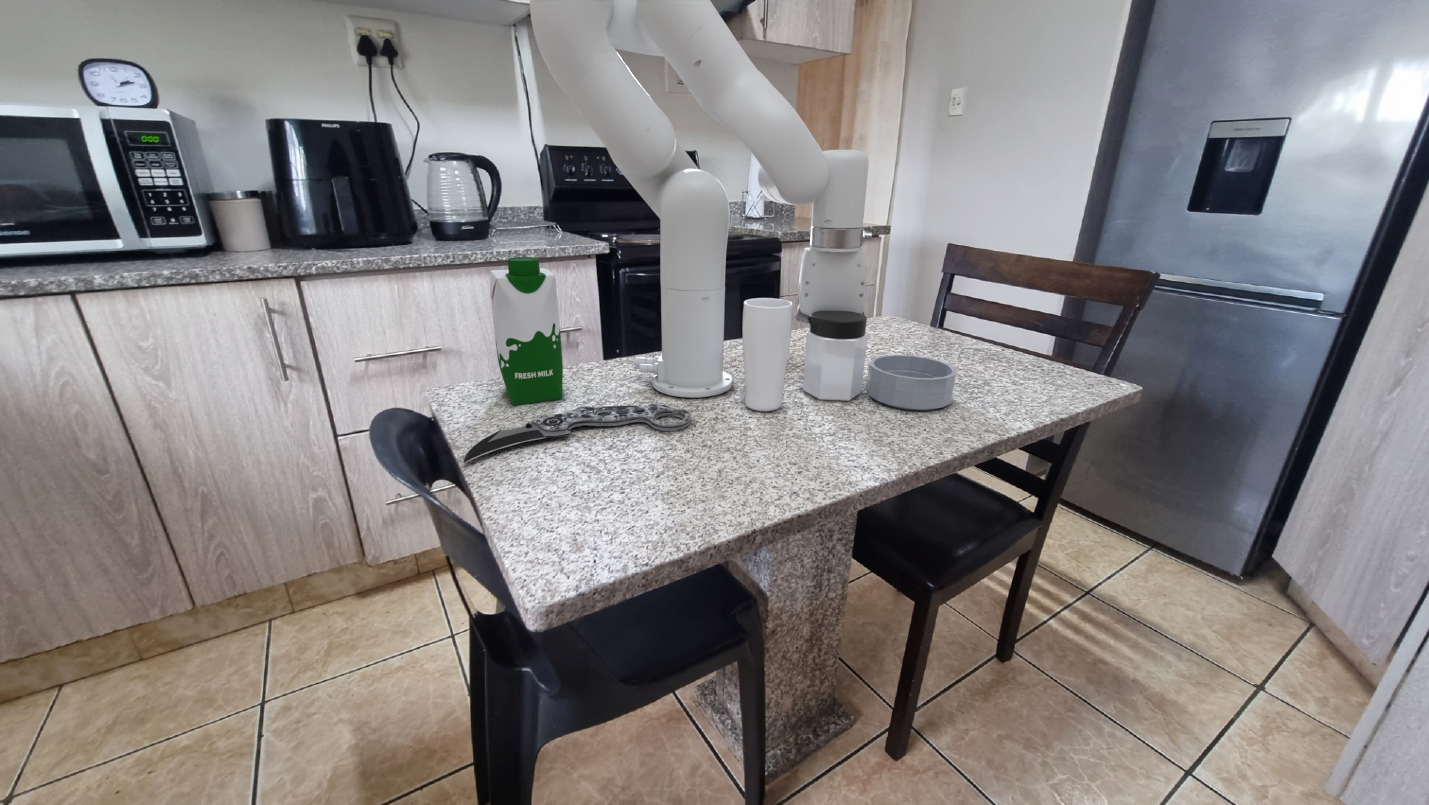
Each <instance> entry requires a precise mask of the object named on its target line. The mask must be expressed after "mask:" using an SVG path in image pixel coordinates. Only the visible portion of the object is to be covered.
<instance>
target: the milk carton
mask: <svg viewBox="0 0 1429 805" xmlns="http://www.w3.org/2000/svg"><path fill="white" fill-rule="evenodd" d="M489 296H490V301H491V313H492V321H493V329H494V339H495V347H496V355H497V362H498V366H499V370H500V373H501V376H502V379H503V383H504V386H505V390H506V392H507V395H508V397H509V399H510V402H511V404H512V406H519V405H527V404H528V405H529V404H534V403H542V402H550V401H556V400H557V401H559V400H563V384H564V383H563V382H564V380H563V378H564V374H563V373H564V365H563V364H564V363H563V362H564V361H563V350H562V336H561V335H562V334H561V324H560V322H561V321H560V311H559V301H558V300H559V299H558V290H557V279H556V275H555V274H554V273H552V271H550V270H549V269H547V268H545V267H542V268H541V267H540V259H539V258H538V257H534V256H533V257H531V256H519V257H518V256H517V257H510V258H507V269H494V270H493V269H492V270H490V282H489Z"/></svg>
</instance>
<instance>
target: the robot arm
mask: <svg viewBox="0 0 1429 805" xmlns="http://www.w3.org/2000/svg"><path fill="white" fill-rule="evenodd" d="M529 11H530V14H529V15H530V21H531V27H532V31H533V35H534V39H535V42H536V45H537V48H538V51H539V53H540V55H541V58H542V60H543V62H544V64H545V66H546V68H547V70H548V71H549V73H550V75H551V76H552V78H553V79H554V81H555V82H556V84H557V85H558V87H559V88H560V90H561V91H562V92H563V94H564V95H565V96H566V97H567V100H569V102H570V103H571V104H572V106H574V108H575V109H576V110H577V112H578V113H579V114H580V116H581V118H582V119H583V120H584V121H585V123H586V124H587V125H588V126H589V127H590V129H591V130H592V131H593V133H594V134H595V135H596V136H597V138H598V139H599V141H601V143H602V144H603V145H604V147H605V149H606V150H607V153H608V155H609V156H610V159H611V160H612V162H613V164H614V165H615V166H616V167H617V169H618V171H619V172H621V174H622V175H623V176H624V177H625V179H626V180H627V181H628V182H629V183H630V184H631V186H632V188H633V189H634V190H635V191H636V193H637V194H638V195H639V196H640V197H641V198H642V199H643V201H644V202H645V203H646V204H647V205H648V207H649V208H650V209H651V210H652V211H653V213H655V215H656V216H657V217H658V219H659V221H660V236H659V237H660V238H659V239H660V242H659V243H660V246H659V247H660V248H659V249H660V250H659V254H660V255H659V258H660V264H659V266H660V267H659V268H660V269H659V271H660V313H661V314H660V315H661V319H660V320H661V353H660V355H655V356H654V358H650V357H644V356H643V357H642V356H640V357H639V356H635V358H634V361H633V362H634V369H635V370H639V371H638V372H639V374H642V373H643V374H644V373H645V374H649V373H652V374H653V373H654V375H653V376H652V378H651V380H652V381H651V382H652V388H654V389H655V390H656V391H658V392H660V393H662V394H664V395H668V396H672V397H676V398H677V397H678V398H690V399H692V398H695V399H696V398H697V399H699V398H708V397H715V396H719V395H722V394H725V393H726V392H728V391H729V390H731V389H732V387H733V377H732V376H731V375H730V374H729V373H728V372H726V371H725V370H724V349H725V348H724V347H725V346H724V339H725V305H726V304H725V302H726V301H725V300H726V285H725V284H726V259H727V246H728V237H729V230H730V229H729V228H730V219H731V218H730V216H731V215H730V214H731V213H730V211H731V210H730V202H729V198H728V197H729V196H728V194H727V192H726V189H725V187H724V186H723V184H722V183H721V181H720V180H719V179H718V178H717V177H716V176H715V175H713V174H712V173H711V172H708V171H706V170H704V169H700V168H699V167H698V166H697V165H696V163H695V162H694V161H693V160H692V158H691V157H690V155H689V154H688V153H687V151H686V150H685V149H684V148H683V146H682V145H681V143H680V142H679V141H678V139H677V137H676V136H677V135H676V132H675V129H674V126H673V124H672V122H671V120H670V119H669V117H668V116H667V115H666V114H665V112H663V110H662V108H660V107H659V106H658V105H657V103H655V101H654V100H653V99H652V98H651V96H650V94H648V92H647V91H646V90H645V88H644V87H643V86H642V84H641V83H640V82H639V81H638V80H637V78H636V77H635V76H634V74H633V73H632V71H631V70H630V68H629V67H628V66H627V64H626V63H625V61H624V60H623V59H622V57H621V56H620V54H619V53H618V51H617V50H620V51H624V52H629V53H636V54H641V55H647V56H648V55H649V56H656V57H664V59H665V60H666V61H667V62H668V63H669V64H670V66H671V67H672V69H673V70H674V72H675V73H676V74H677V75H678V77H679V79H680V80H681V81H682V83H683V84H684V85H685V87H686V88H687V90H688V91H689V92H690V94H691V95H692V97H693V99H695V101H696V102H697V104H698V105H699V106H700V107H701V109H702V110H703V111H704V112H705V113H706V114H707V115H708V116H709V117H710V118H711V119H712V120H713V121H714V122H716V123H718V124H720V125H721V126H723V127H725V128H726V129H727V130H729V131H730V132H731V133H732V134H734V135H735V136H736V137H737V138H738V139H739V141H740V142H741V143H742V144H743V145H744V146H745V147H746V148H747V149H748V151H749V152H750V153H751V154H752V156H753V157H754V158H755V160H756V161H757V162H758V164H759V165H760V166H759V169H758V173H757V174H758V175H757V181H758V186H759V189H760V190H761V192H762V193H763V194H764V196H765V197H766V198H768V199H769V200H770V201H772V202H775V203H777V204H781V205H791V206H806V205H810V204H811V203H812V205H811V206H812V208H811V209H812V210H811V225H810V241H809V247H805V248H804V249H803V254H802V258H801V263H800V270H799V276H798V285H797V286H798V287H797V297H796V298H797V299H796V300H797V301H796V302H797V303H796V304H797V309H796V313H795V320H796V321H797V322H801V323H804V324H808V325H810V320H811V314H812V313H814V312H816V311H822V310H825V311H851V312H856V313H860V314H863V315H865V309H866V302H867V258H866V250H865V249H864V248H862V247H863V244H864V243H866V242H871V241H872V239H873V232H872V231H867V230H866V229H865V228H864V227H863V226H864V218H865V217H864V216H865V205H866V196H867V186H868V174H869V157H868V154H867V153H866V152H865V151H862V150H858V149H828V150H822V148H821V146H820V145H819V144H818V142H817V140H816V139H815V138H814V137H815V136H814V135H813V134H812V132H811V131H810V130H809V128H808V126H807V124H805V122H804V121H803V119H802V118H801V116H800V115H799V113H798V112H797V110H796V109H795V108H794V107H793V105H791V103H790V102H789V101H788V100H787V99H786V98H785V97H784V95H783V94H782V93H781V92H779V90H778V89H777V88H776V87H775V86H774V85H773V84H772V83H771V82H770V80H769V79H768V78H767V77H766V76H765V75H764V74H763V73H762V72H761V71H760V70H759V69H758V68H757V67H756V66H755V65H754V63H753V62H752V61H751V59H750V57H749V55H747V53H746V51H745V50H744V49H743V48H742V46H741V45H740V43H739V41H738V40H737V39H736V36H734V34H733V32H732V31H731V29H730V28H729V27H728V25H727V24H726V22H725V21H724V19H723V18H722V16H721V14H720V13H719V12H718V10H717V8H716V7H715V6H714V4H713V2H712V1H711V0H529Z"/></svg>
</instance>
